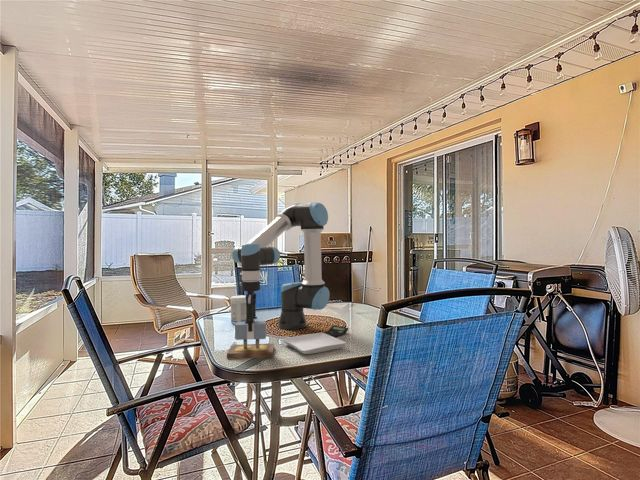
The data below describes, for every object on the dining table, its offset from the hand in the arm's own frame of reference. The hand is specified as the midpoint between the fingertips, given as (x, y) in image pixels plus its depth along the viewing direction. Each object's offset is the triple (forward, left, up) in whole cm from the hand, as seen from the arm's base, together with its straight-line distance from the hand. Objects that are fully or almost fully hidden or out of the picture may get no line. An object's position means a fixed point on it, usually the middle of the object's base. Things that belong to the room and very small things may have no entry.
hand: (251, 336), depth 155 cm
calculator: (-37, -26, -7) cm, 46 cm away
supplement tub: (+12, -54, -7) cm, 56 cm away
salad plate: (-26, -6, -7) cm, 28 cm away
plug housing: (0, 0, 0) cm, 0 cm away
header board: (0, 0, -7) cm, 7 cm away
